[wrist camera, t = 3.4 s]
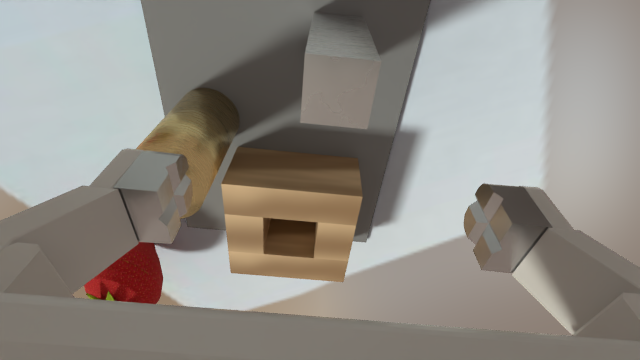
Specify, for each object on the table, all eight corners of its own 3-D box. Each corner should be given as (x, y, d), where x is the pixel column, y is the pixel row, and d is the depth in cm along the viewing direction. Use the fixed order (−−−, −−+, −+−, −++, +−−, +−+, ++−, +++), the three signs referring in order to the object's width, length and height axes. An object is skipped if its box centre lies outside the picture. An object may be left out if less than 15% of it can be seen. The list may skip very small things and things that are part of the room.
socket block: (237, 146, 27) (221, 183, 23) (358, 158, 27) (362, 196, 23) (242, 231, 33) (230, 272, 29) (341, 240, 33) (343, 282, 29)
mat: (136, -36, 20) (133, -35, 19) (428, -2, 20) (430, -1, 20) (189, 224, 33) (187, 227, 33) (365, 239, 34) (366, 242, 33)
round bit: (174, 84, 24) (107, 149, 17) (237, 91, 24) (198, 158, 17) (184, 139, 27) (129, 215, 19) (240, 144, 27) (208, 222, 20)
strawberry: (156, 210, 32) (98, 302, 24) (192, 259, 36) (153, 351, 28) (104, 219, 33) (31, 310, 25) (145, 266, 37) (95, 357, 29)
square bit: (313, 11, 21) (305, 53, 14) (363, 17, 21) (381, 61, 14) (309, 62, 23) (300, 122, 15) (355, 67, 23) (367, 129, 16)
